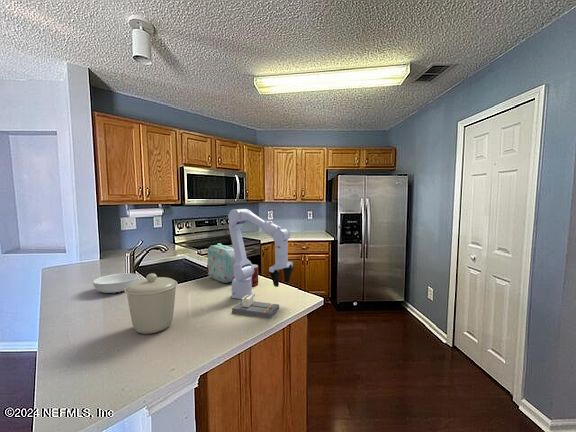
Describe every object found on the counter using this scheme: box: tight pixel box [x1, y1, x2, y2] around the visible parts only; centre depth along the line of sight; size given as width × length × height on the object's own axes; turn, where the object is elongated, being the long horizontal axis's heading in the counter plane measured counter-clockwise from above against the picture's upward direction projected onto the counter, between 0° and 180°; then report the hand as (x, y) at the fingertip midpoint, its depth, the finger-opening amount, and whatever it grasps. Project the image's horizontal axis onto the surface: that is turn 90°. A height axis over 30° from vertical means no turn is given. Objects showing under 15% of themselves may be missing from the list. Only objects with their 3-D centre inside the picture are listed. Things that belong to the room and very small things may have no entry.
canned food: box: [251, 263, 259, 288], centre depth 155 cm, size 8×8×11 cm
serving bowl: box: [92, 272, 140, 294], centre depth 148 cm, size 21×21×7 cm
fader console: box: [231, 300, 280, 319], centre depth 120 cm, size 18×10×2 cm, turn 71°
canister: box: [123, 273, 179, 335], centre depth 104 cm, size 18×18×21 cm
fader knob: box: [241, 294, 254, 307], centre depth 121 cm, size 3×5×4 cm, turn 161°
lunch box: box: [206, 242, 236, 284], centre depth 166 cm, size 27×10×21 cm, turn 43°
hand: (281, 284), depth 126 cm, fingers open, 7 cm apart
